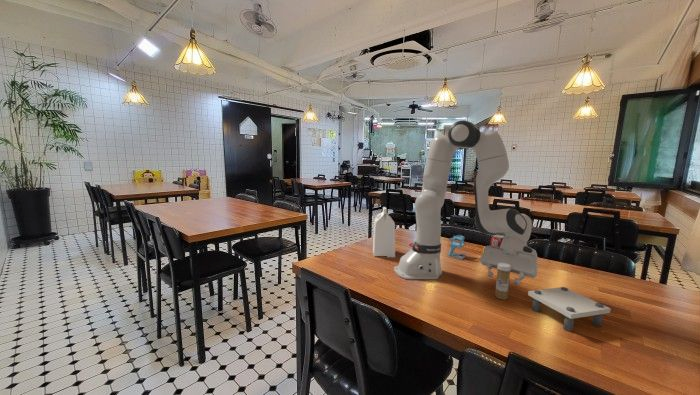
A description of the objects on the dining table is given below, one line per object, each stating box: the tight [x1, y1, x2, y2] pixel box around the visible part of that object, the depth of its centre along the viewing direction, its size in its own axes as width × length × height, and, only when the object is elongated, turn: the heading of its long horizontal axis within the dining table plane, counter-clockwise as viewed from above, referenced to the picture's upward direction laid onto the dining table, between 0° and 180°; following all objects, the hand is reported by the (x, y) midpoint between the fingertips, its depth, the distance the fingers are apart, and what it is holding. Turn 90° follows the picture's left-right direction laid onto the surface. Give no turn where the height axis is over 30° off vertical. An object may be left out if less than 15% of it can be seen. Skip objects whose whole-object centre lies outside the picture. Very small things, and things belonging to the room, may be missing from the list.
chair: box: [447, 234, 467, 260], centre depth 160 cm, size 8×8×12 cm
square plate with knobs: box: [527, 286, 612, 332], centre depth 100 cm, size 16×16×7 cm
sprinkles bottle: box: [494, 263, 511, 301], centre depth 113 cm, size 5×5×14 cm
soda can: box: [490, 234, 505, 247], centre depth 159 cm, size 7×7×12 cm
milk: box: [372, 206, 396, 258], centre depth 162 cm, size 12×12×26 cm
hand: (502, 279), depth 112 cm, fingers open, 8 cm apart
